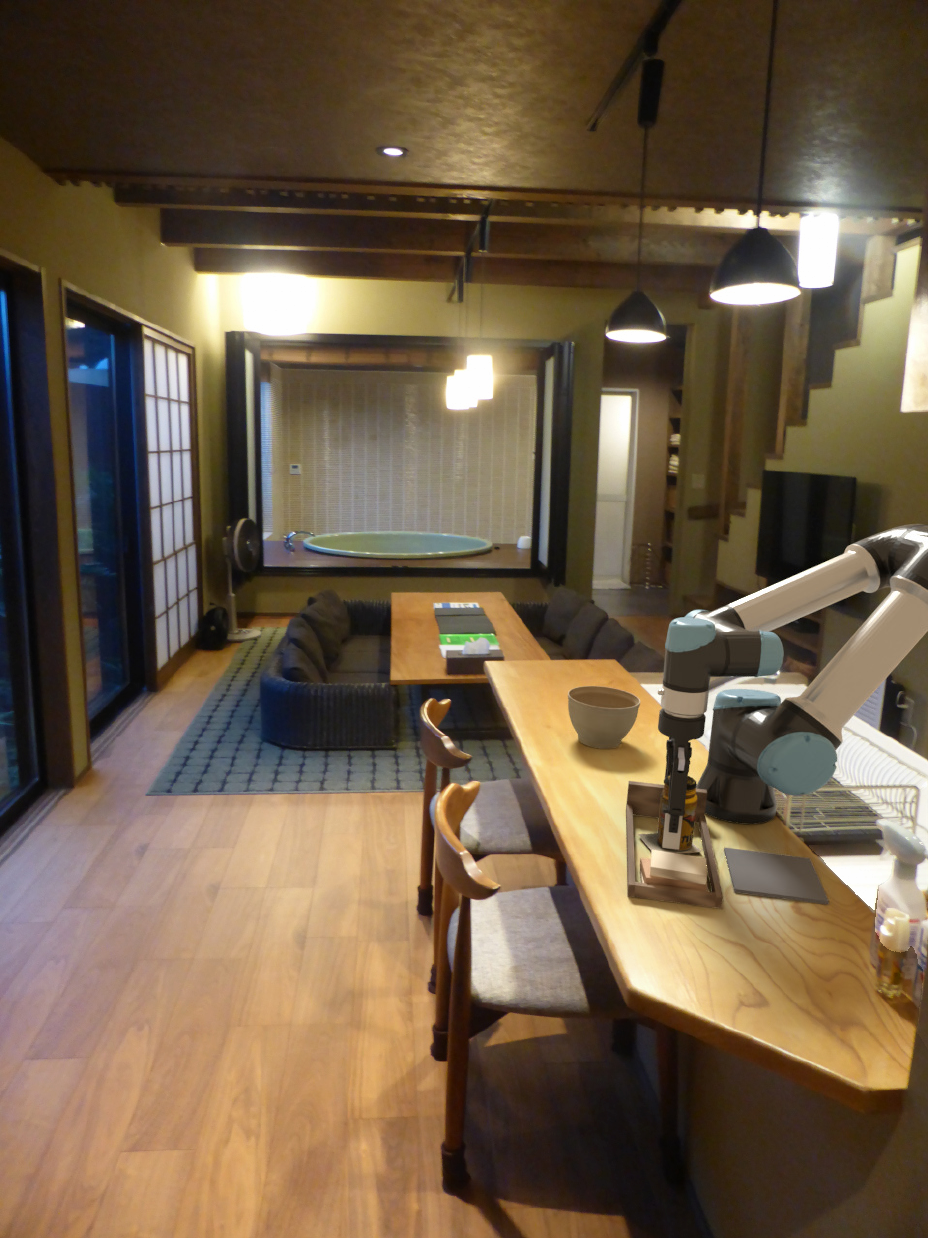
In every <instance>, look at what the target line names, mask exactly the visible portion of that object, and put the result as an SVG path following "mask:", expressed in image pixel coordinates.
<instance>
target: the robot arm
mask: <svg viewBox="0 0 928 1238" xmlns="http://www.w3.org/2000/svg"><path fill="white" fill-rule="evenodd" d="M886 588H890V593H889V594H887V596H886V597H885V598H884V599H883V600H882V601H881V602H880V604H879V605H878V606H877V607H876V608H875V610H874V611H873V612H871V614H870V615H869V616H868V617H867V619H866V620H865V621H864V622H863V623H862V624H861V625H860V626H859V628H858V629H857V630H856V631H855V633H853V634H852V635H851V636H850V638H849V639H848V640H847V642H846V643H844V645H843V646H842V647H841V648H840V650H838V652H837V653H836V654H835V655H834V656H833V658H831V659H830V661H829V662H828V663H827V664H826V665H825V667H824V668H823V669H822V670H821V671H820V672H819V673H818V675H817V676H816V677H815V678H814V679H813V680H812V682H810V684H808V686H807V687H806V688H805V689H804V691H803V692H802V693H801V694H800V695H798V696H793V697H785V699H784V700H782V699H781V696H780V695H778V693H777V694H776V693H774V692H770V691H765V690H758V689H748V688H731V689H730V688H728V689H723V690H722V691H719V692H718V693H717V694H716V696H715V698H714V699H715V700H714V703H713V708H712V713H713V714H712V720H711V729H710V739H709V745H708V755H707V761H706V762H707V763H706V766H705V768H704V770H703V771H702V774H701V775H700V777H699V780H698V782H697V783H696V784H697V786H696V789H705V790H707V798H706V806H705V815H707V816H710V817H713V818H714V819H718V820H721V821H726V822H727V823H728V822H729V823H734V824H743V825H760V824H765V823H768V822H770V821H772V820H773V819H774V818H775V817H776V813H777V807H778V806H777V803H778V802H777V797H776V793H775V790H777V791H778V792H781V793H783V794H785V795H788V796H801V795H803V796H804V795H810V794H813V793H815V792H817V791H818V790H820V789H822V788H823V787H824V786H825V785H826V784H828V782H829V781H831V779H832V777H834V774H835V772H836V771H837V766H836V763H838V753H837V751H836V750H837V749H838V748H839V747H840V746H841V745H843V744H842V743H843V734H842V732H843V731H842V730H843V728H844V727H845V726H846V724H848V722H849V721H850V720H851V719H852V718H853V717H854V716H855V714H856V713H857V712H858V711H859V710H860V708H861V707H862V706H863V705H864V704H866V702H867V701H868V700H869V698H871V696H872V695H873V694H874V693H875V691H876V690H877V689H878V688H879V687H880V686H881V685H882V684H883V682H884V681H885V680H886V679H887V678H888V677H889V676H890V674H892V672H893V671H894V670H895V669H896V668H897V667H898V665H899V664H900V663H901V662H902V660H903V659H904V658H905V657H906V656H908V654H909V653H910V652H911V651H912V650H913V648H914V647H915V646H916V645H917V644H918V643H919V641H920V640H921V639H923V637H924V636H925V635H926V633H928V524H923V523H912V524H911V523H909V524H904V525H900V526H895V527H893V528H889V529H887V530H884V531H881V532H878V533H874V534H872V535H870V536H867V537H865V538H863V539H860V540H858V541H856V542H854V543H852V544H850V545H847V546H846V548H845V550H844V552H843V553H842V554H840V555H838V556H836V557H833V558H831V559H829V560H827V561H825V562H822V563H820V564H818V565H817V564H816V565H815V566H812V567H811V568H808V569H806V570H803V571H802V572H799V573H797V574H795V575H792V576H790V577H787V578H786V579H783V580H781V581H778V582H777V583H774V584H772V585H770V586H767V587H765V588H763V589H760V590H758V591H756V592H754V593H751V594H749V595H747V596H744V597H742V598H740V599H738V600H735V601H733V602H730V603H729V604H726V605H724V606H721V607H719V608H716V609H714V610H712V611H710V610H708V609H707V610H706V609H693V610H692V611H690V612H688V613H687V614H686V615H685V616H684V617H677V618H674V619H672V620H671V621H670V622H669V625H668V628H667V629H668V630H667V635H666V640H665V644H664V646H665V647H664V648H665V650H664V651H665V652H664V654H665V655H664V664H663V665H664V666H663V675H662V676H663V677H662V685H661V686H662V688H661V689H658V690H657V695H659V696H661V698H660V707H661V709H660V710H659V711H658V712H659V714H658V723H657V728H658V729H657V730H658V731H659V733H660V734H661V735H663V736H665V737H668V739H667V740H666V743H665V746H666V747H665V748H666V749H665V750H666V754H665V758H666V759H665V761H666V762H665V763H666V764H665V773H664V780H663V785H665V779H666V777H667V776H668V775H670V782H669V795H668V808H667V809H663V813H666V815H665V825H664V835H663V844H662V847H663V848H669V849H678V850H679V845H680V836H681V826H682V817H683V816H684V814H685V811H684V810H685V800H686V790H687V780H688V776H689V773H690V765H691V758H692V756H693V747H691V746H692V745H691V744H692V743H691V741H692V740H699V739H701V738H702V737H703V736H704V733H705V728H706V719H707V717H706V714H705V713H707V711H708V703H709V693H710V683H711V678H724V677H725V678H727V677H728V678H733V677H734V678H735V677H736V678H738V677H740V678H741V677H743V678H744V677H745V678H747V677H748V678H750V677H752V678H753V677H754V678H759V677H767V676H768V677H769V676H774V675H775V674H777V673H778V672H779V670H780V669H781V667H782V665H783V663H784V662H783V661H784V646H783V642H782V641H781V638H780V637H779V636H778V634H776V633H775V632H772V631H773V630H776V629H778V628H780V627H783V626H785V625H788V624H789V623H790V624H791V622H794V621H797V620H798V619H800V618H803V617H805V616H808V615H811V614H812V613H815V612H817V611H819V610H822V609H824V608H826V607H828V606H831V605H833V604H836V603H838V602H840V601H843V600H844V599H847V598H849V597H852V596H854V595H856V594H859V593H861V592H865V593H869V594H872V593H875V592H878V591H879V590H882V589H886Z"/></svg>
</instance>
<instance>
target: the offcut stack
mask: <svg viewBox="0 0 928 1238" xmlns="http://www.w3.org/2000/svg"><path fill="white" fill-rule="evenodd" d="M650 852H651V853H650V858H646V857H645V858H644V857H641V858H640V860H639V872H638V873H639V880H640V883H647V884H655V885H663V886H670V887H678V888H685V889H693V890H701V891H708V892H710V890H709V887H708V883H707V881H708V880H707V878H708V871H707V866H706V858H705V857H701V856H695V855H689V854H684V853H670V852H664V851H658V850H652V851H650Z"/></svg>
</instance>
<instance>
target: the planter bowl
mask: <svg viewBox="0 0 928 1238" xmlns="http://www.w3.org/2000/svg"><path fill="white" fill-rule="evenodd" d="M567 699H568V701H567V702H568V703H567V704H568V705H567V706H568V709H567V710H568V715H569V719H570V722H571V725H572V727H573V729H574V731H575V733H577V739H578V741H579V742H580V743H581V744H583V745H585V746H587V747H590V748H595V749H603V750H604V749H605V750H607V749H613V748H614V749H615V748H617V747H619V746H620V745H621V743H622V740H623V739H625V737H626V736H628V734H629V733H630V731H631V730H632V729H633V727H634V725H635V722H636V720H637V717H638V714H639V708H640V706H641V699H640V698H639V697H638V696H637V695H635V694H634V693H632V692H629V691H626V690H622V689H619V688H614V687H609V686H604V685H603V686H600V685H583V686H577V687H574V688H572V689H569V690H568V692H567Z"/></svg>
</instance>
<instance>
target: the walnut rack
mask: <svg viewBox="0 0 928 1238" xmlns="http://www.w3.org/2000/svg"><path fill="white" fill-rule="evenodd" d="M663 790H664V784H659V783H650V782H643V781H634V780H628V784H627V794H626V795H627V796H626V804H625V833H626V834H625V836H626V837H625V839H626V847H625V848H626V882H627V883H626V885H627V887H626V889H627V892H626V893H627V897H630V898H639V899H645V900H654V901H660V902H661V901H662V902H669V903H677V904H684V905H692V906H700V907H704V908H706V907H707V908H713V909H723V902H724V893H723V890H722V885H721V880H720V876H719V872H718V866H717V863H716V858H715V854H714V849H713V844H712V839H711V836H710V832H709V827H708V822H707V818H706V813H705V806H706V798H707V790H705V789H696V793H695V794H696V795H697V806H696V815H695V824H696V823H697V826H698V830H699V836H700V841H701V840H702V841H701V845H702V852H703V855H705V856H704V858H706V865H707V866H706V867H707V877H708V880H709V885H710V890H711V891H709V892H708V891H701V890H693V889H685V888H678V887H670V886H663V885H655V884H647V883H641V882H638V881H636V868H635V867H636V866H635V865H636V864H635V839H634V837H635V836H634V816H640V817H647V818H654V819H655V818H656V819H659V810H660V800H661V793H662V791H663Z"/></svg>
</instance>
